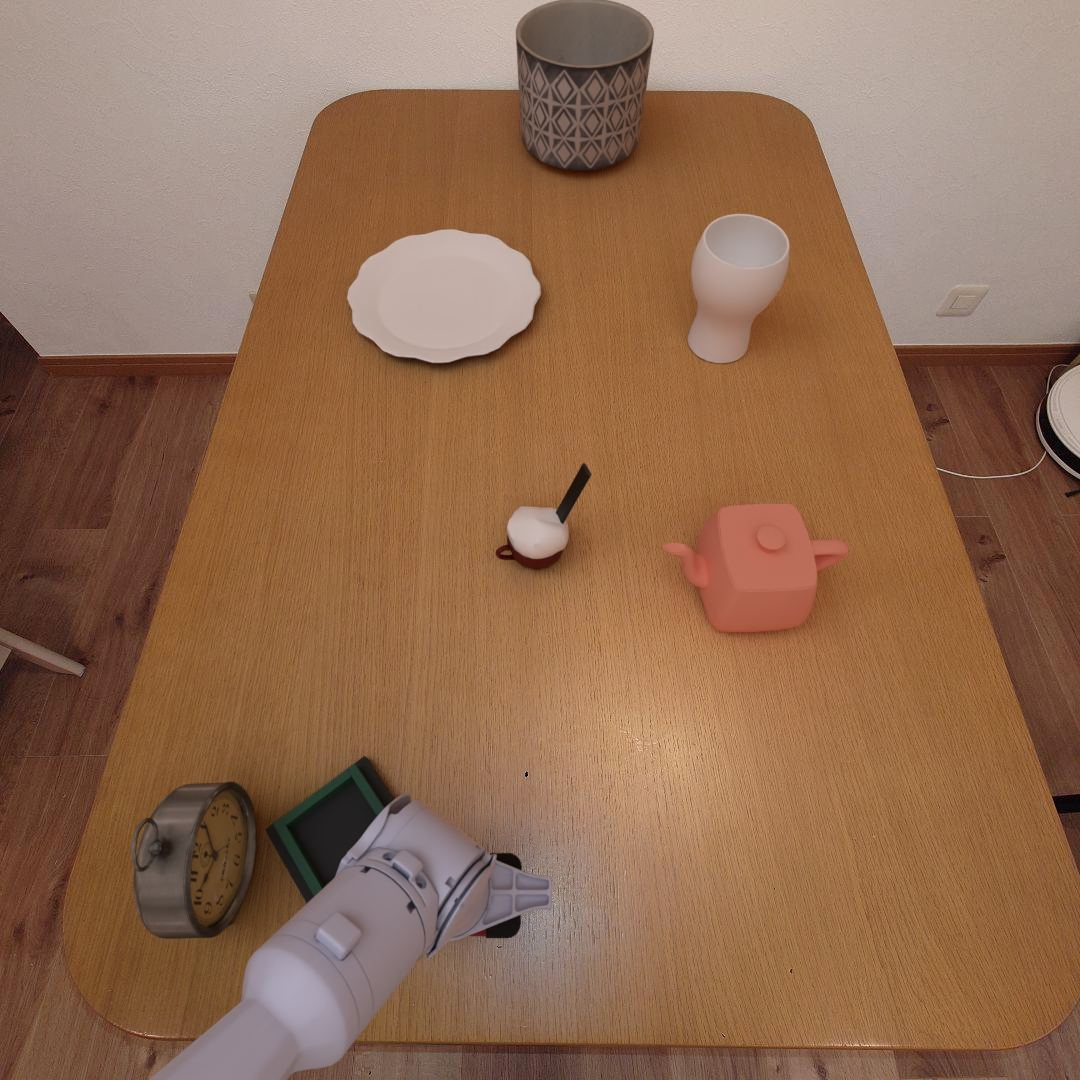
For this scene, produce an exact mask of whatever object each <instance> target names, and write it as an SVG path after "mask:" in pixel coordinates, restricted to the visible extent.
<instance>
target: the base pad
mask: <svg viewBox="0 0 1080 1080" xmlns="http://www.w3.org/2000/svg"><path fill="white" fill-rule="evenodd" d="M395 799H396V798H394V796H393V794H392V793H391V791H390V790H389V788H388V787H387V785H386V783H385V782H384V781H383V779H382V778H381V776H380V775H379V773H378V772H377V770H376V769H375V767H374V766H373V765H372V763H371V761H370V760H369V758H368V757H367V756H366V755H364V756H362V757H361V758H359V759H358V760H357V761H355V762H354V763H352V764H351V765H350V766H349V767H347V768H346V769H345V770H343V771H342V772H340V773H339V774H338V775H337V776H335V777H334V778H332V779H331V780H329V782H327V783H326V784H324V785H323V786H322V787H320V788H319V789H317V790H316V791H315V792H314V793H312V794H311V795H309V796H308V797H307V798H305V799H304V800H302V801H301V802H300V803H298V805H296V806H295V807H294V808H292V809H291V810H289V811H288V812H287V813H285V814H284V815H283V816H281V817H280V818H279V819H277V820H276V821H274V822H273V823H272V824H270V825H269V826H268V827H266V828H265V830H264V831H265V832H266V834H267V836H268V837H269V840H270V841H271V843H272V845H273V847H274V849H275V850H276V852H277V854H278V855H279V857H280V859H281V860H282V862H283V864H284V866H285V868H286V869H287V871H288V873H289V875H290V876H291V877H290V878H292V880H293V882H294V884H295V886H296V888H297V889H298V891H299V892H300V894H301V896H302V898H303V900H304V901H305V903H306V904H307V903H308V902H309V901H310V900H311V899H312V898H313V897H314V896H315V895H317V894H318V893H319V892H320V891H321V890H322V889H323V888H324V887H325V886H326V885H327V884H328V883H329V882H331V881H332V880H333V879H334V878H335V875H336V873H337V870H338V867H339V865H340V862H341V860H342V858H343V857H344V856H345V855H346V854H347V852H348V851H349V850H350V849H351V848H352V847H353V846H354V845H355V844H356V843H357V842H358V840H359V839H360V838H361V837H362V835H363V834H364V832H365V831H366V830H367V828H368V827H369V826H370V825H371V823H372V822H373V821H374V820H375V818H376V817H377V816H378V815H379V814H380V813H381V812H382V810H383V809H384V808H385V807H386V806H387V805H388V804H390V803H391V802H392V801H393V800H395Z"/></svg>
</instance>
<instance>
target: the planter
mask: <svg viewBox="0 0 1080 1080" xmlns="http://www.w3.org/2000/svg"><path fill="white" fill-rule="evenodd" d="M654 38H655V31H654V27H653V24H652V23H651V22H650V20H649V19H648V18H647V16H645V15H644V14H643V13H641V12H640V11H638V10H636V9H635V8H633V7H631V6H629V5H626V4H624V3H621V2H617V1H614V0H553V1H549V2H547V3H544V4H542V5H541V4H540V5H538V6H536V7H534V8H533V9H531V10H530V11H527V12H526V14H524V15H523V16H522V17H521V18H520V20H519V21H518V23H517V25H516V28H515V43H516V64H517V81H518V102H519V118H520V136H521V141H522V144H523V146H524V148H525V149H526V151H527V152H528V153H529V154H530V155H531V156H532V157H533V158H534V159H536V160H537V161H539V162H540V163H543V164H544V165H547V166H548V167H552V168H556V169H559V170H563V171H564V170H565V171H570V172H592V171H598V170H599V171H600V170H603V169H608V168H610V167H614V166H615V165H618V164H620V163H621V162H623V161H625V160H626V159H627V158H629V157H630V156H631V155H632V154H633V152H634V151H635V149H636V148H637V146H638V144H639V141H640V135H641V128H642V121H643V114H644V109H645V108H644V107H645V101H646V100H645V99H646V94H647V87H648V79H649V73H650V66H651V60H652V52H653V45H654Z"/></svg>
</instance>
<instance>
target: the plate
mask: <svg viewBox="0 0 1080 1080" xmlns="http://www.w3.org/2000/svg"><path fill="white" fill-rule="evenodd" d="M541 289H542V287H541V283H540V282H539V279H538V278H537V277H536V275H535V274H534V270H533V267H532V262H531V261H530V259H528V257H527V256H526V255H525V254H524V253H522V252H521V251H518V250H516V249H514V248H512V247H510V246H509V245H507V244H506V243H505V242H504V241H503V240H501V239H500V238H498V237H496V236H493V235H490V234H487V233H473V232H472V233H471V232H467V231H463V230H459V229H437V230H434V231H431V232H428V233H423V234H414V235H413V234H411V235H408V236H405V237H402V238H399V239H396V240H394V241H393V242H392V243H391V244H389V245H388V246H387V247H386V248H384V249H383V250H381V251H379V252H377V253H374V254H373V255H370V256H369V257H368V258H367V259H366V260H365V261H364V262H363V263H362V264H361V265H360V268H359V271H358V273H357V277H356V278H355V279H354V281H353V282H352V283H351V285H350V286H349V287H348V290H347V297H346V300H347V303H348V304H349V306H350V309H351V314H352V315H351V316H352V318H351V319H352V325H353V326H354V328H355V329H356V331H357V332H358V334H360V335H362V336H364V337H365V338H367V339H369V340H370V341H372V342H374V344H375V345H376V346H377V347H378V348H379V349H380V350H381V351H382V352H383V353H385V354H387V355H390V356H393V357H395V358H401V359H403V358H404V359H416V360H419V361H423V362H426V363H429V364H432V365H433V364H435V365H436V364H437V365H438V364H451V363H454V362H456V361H460V360H463V359H465V358H475V357H483V356H487V355H489V354H491V353H493V352H496V351H498V350H500V349H501V348H502V347H503V346H504V345H505V344H506V343H507V342H508V341H509V340H510V339H511V338H513V337H516V335H518V334H519V333H522V332H523V331H525V330H526V329H527V328H528V326H529V325H530V324H531V322H532V321H533V319H534V312H535V307H536V305H537V303H538V301H539V299H540V298H541V295H542V290H541Z"/></svg>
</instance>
